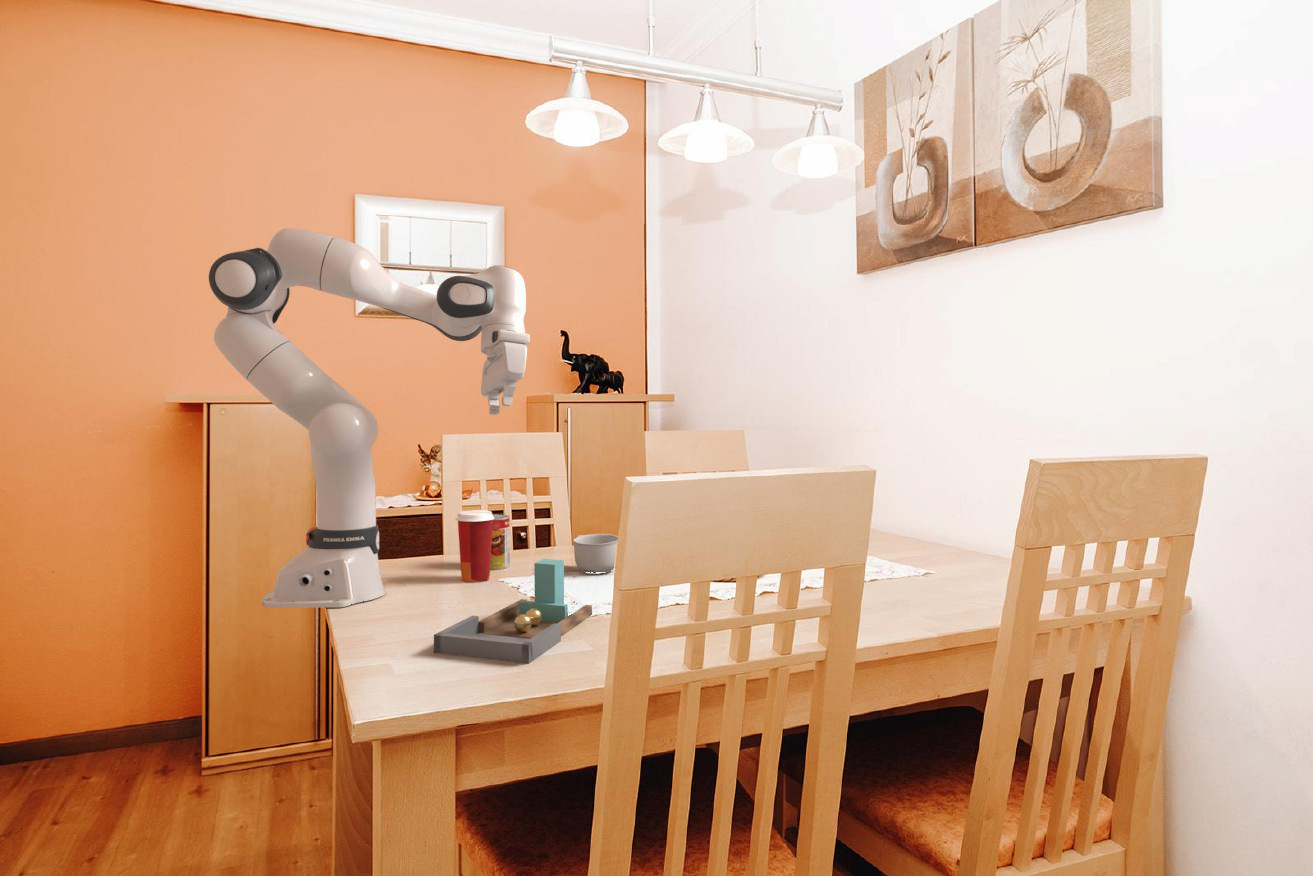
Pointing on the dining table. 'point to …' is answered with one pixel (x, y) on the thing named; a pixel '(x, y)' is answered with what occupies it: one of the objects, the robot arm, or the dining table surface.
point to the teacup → (595, 552)
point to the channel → (505, 626)
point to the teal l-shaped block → (548, 591)
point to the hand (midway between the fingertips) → (500, 410)
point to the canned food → (500, 542)
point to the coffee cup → (475, 544)
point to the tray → (494, 642)
